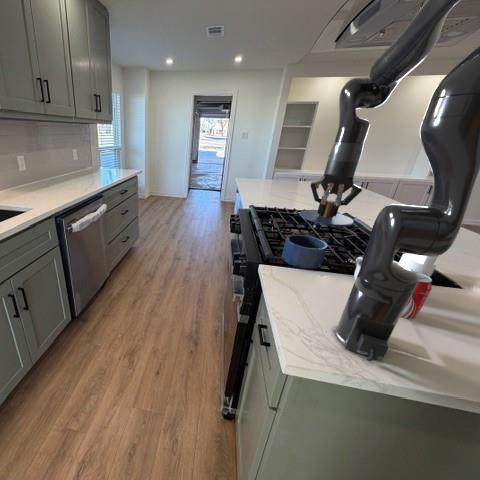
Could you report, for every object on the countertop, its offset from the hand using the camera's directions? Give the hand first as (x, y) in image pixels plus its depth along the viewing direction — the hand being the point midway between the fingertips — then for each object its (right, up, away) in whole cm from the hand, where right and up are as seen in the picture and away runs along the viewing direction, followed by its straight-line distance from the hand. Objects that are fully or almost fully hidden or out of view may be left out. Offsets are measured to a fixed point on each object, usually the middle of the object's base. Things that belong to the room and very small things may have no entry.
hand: (325, 215), depth 80 cm
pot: (+2, -16, +18) cm, 24 cm away
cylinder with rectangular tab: (+39, -20, +12) cm, 45 cm away
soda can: (+14, -28, -9) cm, 33 cm away
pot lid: (0, -1, 0) cm, 1 cm away
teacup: (+16, -23, +4) cm, 28 cm away
